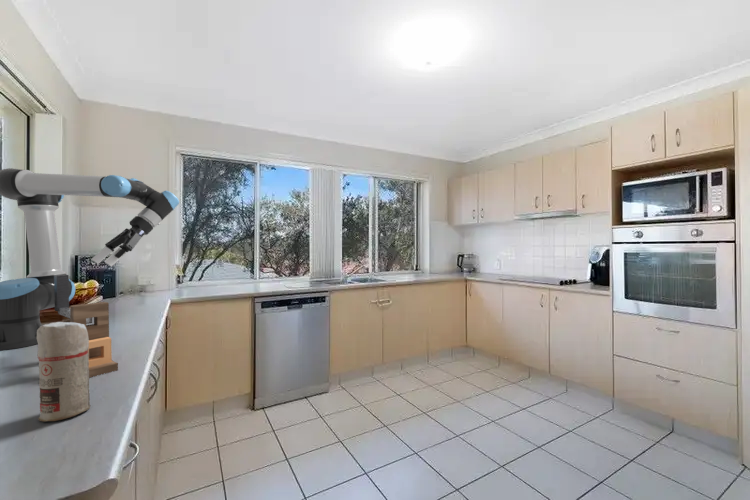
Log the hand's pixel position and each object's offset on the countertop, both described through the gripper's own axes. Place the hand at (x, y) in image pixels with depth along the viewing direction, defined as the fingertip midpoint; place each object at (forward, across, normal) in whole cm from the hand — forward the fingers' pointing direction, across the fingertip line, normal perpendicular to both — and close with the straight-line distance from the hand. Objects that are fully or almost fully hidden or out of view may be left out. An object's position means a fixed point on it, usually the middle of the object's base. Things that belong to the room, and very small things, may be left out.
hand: (101, 262), depth 122 cm
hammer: (+19, -13, -3) cm, 24 cm away
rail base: (+29, -22, -11) cm, 38 cm away
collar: (+27, -33, -10) cm, 44 cm away
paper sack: (+36, -58, -2) cm, 68 cm away
